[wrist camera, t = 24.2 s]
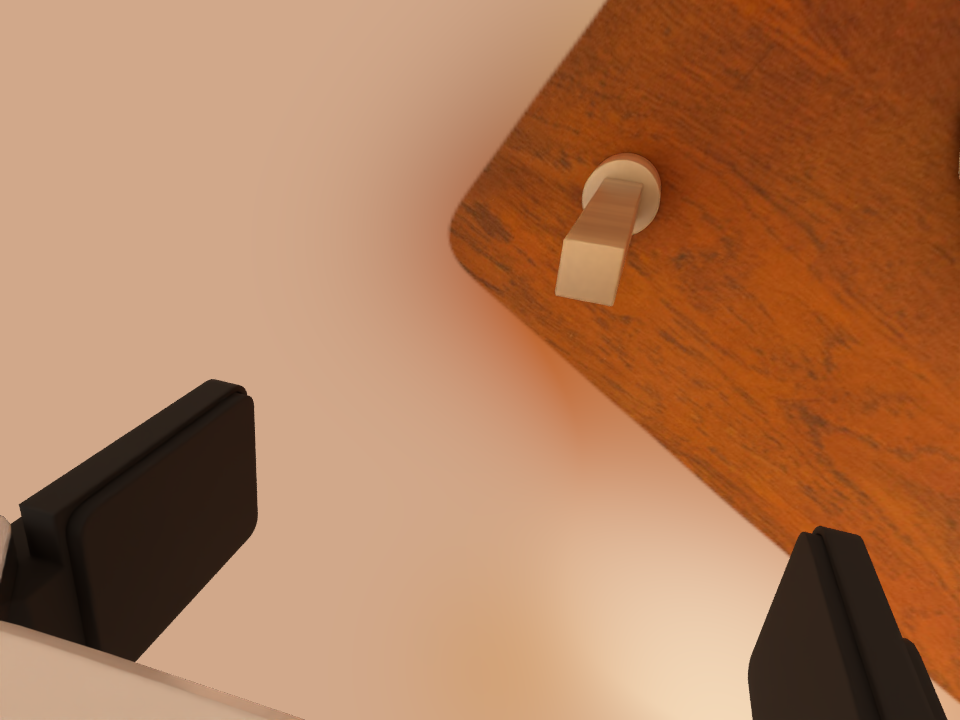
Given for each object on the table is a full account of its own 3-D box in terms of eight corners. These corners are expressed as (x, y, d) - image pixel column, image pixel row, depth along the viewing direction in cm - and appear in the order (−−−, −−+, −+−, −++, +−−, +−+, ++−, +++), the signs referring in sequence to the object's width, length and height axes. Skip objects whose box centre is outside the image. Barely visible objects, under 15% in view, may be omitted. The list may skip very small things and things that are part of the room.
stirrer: (596, 147, 33) (538, 202, 19) (668, 158, 33) (664, 223, 19) (583, 218, 35) (521, 317, 21) (652, 230, 34) (636, 341, 20)
